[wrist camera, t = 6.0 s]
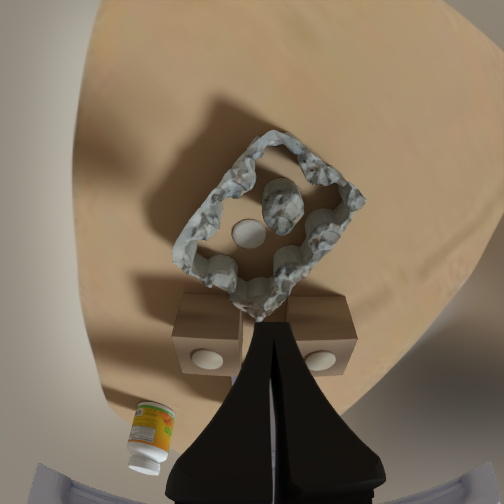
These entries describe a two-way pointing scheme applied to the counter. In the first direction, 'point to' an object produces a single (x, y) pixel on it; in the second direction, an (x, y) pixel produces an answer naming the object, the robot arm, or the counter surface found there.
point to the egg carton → (254, 233)
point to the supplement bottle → (150, 437)
